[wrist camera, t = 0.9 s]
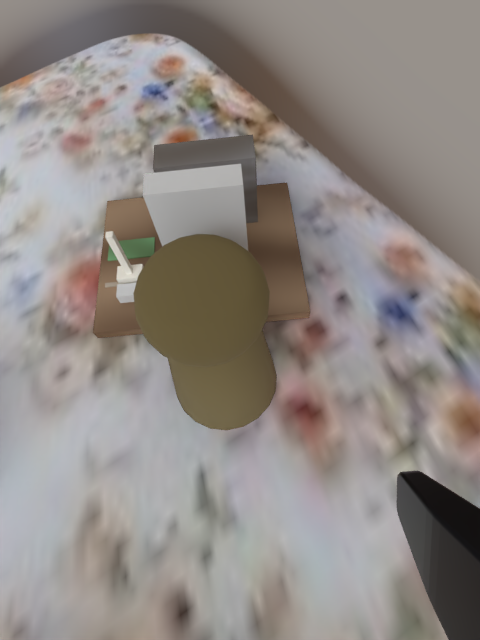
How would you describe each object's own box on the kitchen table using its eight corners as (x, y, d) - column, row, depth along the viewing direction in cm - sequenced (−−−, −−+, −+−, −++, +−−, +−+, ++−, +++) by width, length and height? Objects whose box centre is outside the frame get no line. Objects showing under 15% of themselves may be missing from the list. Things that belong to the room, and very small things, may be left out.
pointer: (146, 285, 26) (122, 240, 22) (121, 287, 26) (93, 242, 22) (146, 272, 26) (124, 225, 22) (122, 275, 26) (95, 228, 22)
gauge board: (309, 317, 25) (320, 257, 19) (98, 337, 25) (49, 284, 20) (286, 190, 30) (290, 114, 25) (111, 208, 30) (75, 137, 25)
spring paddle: (252, 308, 24) (243, 185, 16) (119, 321, 25) (36, 206, 16) (249, 278, 26) (239, 146, 17) (121, 291, 26) (44, 167, 17)
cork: (163, 352, 25) (94, 238, 15) (254, 319, 25) (245, 189, 16) (192, 446, 22) (131, 382, 12) (293, 406, 23) (311, 315, 13)
